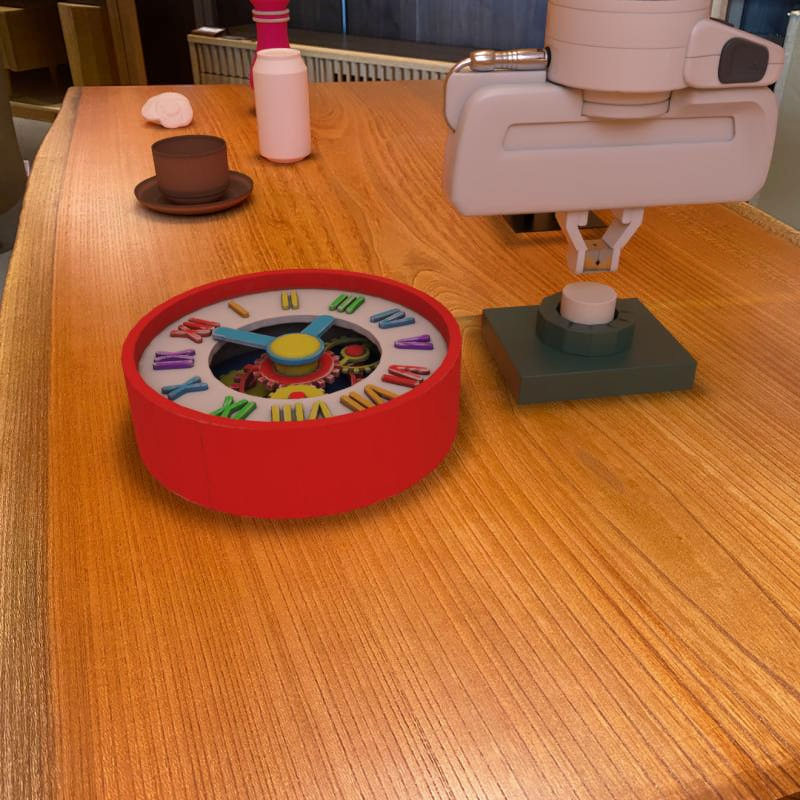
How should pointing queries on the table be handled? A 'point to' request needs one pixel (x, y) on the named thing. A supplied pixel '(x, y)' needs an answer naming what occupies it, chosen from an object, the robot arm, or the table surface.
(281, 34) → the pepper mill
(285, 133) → the beverage can
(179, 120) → the spiral seashell
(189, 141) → the cup and saucer
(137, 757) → the table surface
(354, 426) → the toy clock
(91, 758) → the table surface
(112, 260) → the table surface
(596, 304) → the button
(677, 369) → the button box
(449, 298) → the table surface
